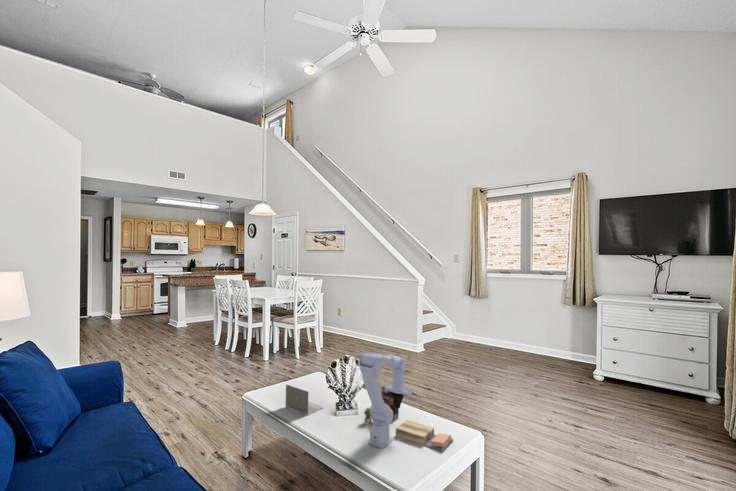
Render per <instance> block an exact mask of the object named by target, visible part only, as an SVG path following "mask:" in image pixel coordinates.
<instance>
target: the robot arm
mask: <svg viewBox="0 0 736 491" xmlns="http://www.w3.org/2000/svg"><path fill="white" fill-rule="evenodd" d="M384 365H385V367H388V368H392V378H391V380H392V386H391V385H388V386H386V387H385V391H390V392H393V393H392V394H391V396H392V398H393V400H394V402H395V406H396V408H397V409H400V408H401V405H402V401H403V398H404V396H407V398H411V397H412V396H413V395H412V394H413V392H412V391H409V390H407V389H405V387H404V386H405V380H404V379H405V377H404V376H405V371H406V366H407V361H406V359H405V358H404V357H400V356H399V355H398V354H397V355H394V353H390V354H387V355H383V354H381V353H380V354H379V353H372V352H368V353H366V352H363V353H361V355H360V356H359V358H358V366H359V370H360V373H361V376H362V377H361V378H362V381H363V384H364V387H365V390H366V393H367V396H368V397H369V400H370V402H371V405H370V406H369V408H370V416H371V418H372V419H371V420H372V423H373V425H372V426H371V427H370V429H369V441H368V444H369V445H372V446H375V447H377V448H381V449H383V448H385V447H386V446H387V445H388V444H390V443H392V442H393V440H394V438H391V437H390V424H391V423H392V421H393V411H392V410H391V409H390V407H389V406H388V405H387V404H385V403H384V401H383V398H382V392H381V390H380V387H379V384H378V382H377V378H379V376H380V374H381V371H382V369H383V368H382V367H383V366H384ZM390 386H391V387H390Z"/></svg>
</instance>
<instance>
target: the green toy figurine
mask: <svg viewBox="0 0 736 491" xmlns="http://www.w3.org/2000/svg"><path fill="white" fill-rule="evenodd" d="M362 413H363V414H364V415H363V423H368V424H370V423H373V419H372V418H371V416H370V407H368V408H364V409H363V410H362Z"/></svg>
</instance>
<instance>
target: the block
mask: <svg viewBox="0 0 736 491" xmlns="http://www.w3.org/2000/svg"><path fill="white" fill-rule="evenodd" d="M436 435H437V436H436V437H435V438H434V439H433V440H432V441H431V445H432V446H437V447H443V448H444V447H445V446H446V445H447V444H448V443H449V442H450V440H451V438H452V434H446V433H439V432H438V434H436Z"/></svg>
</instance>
